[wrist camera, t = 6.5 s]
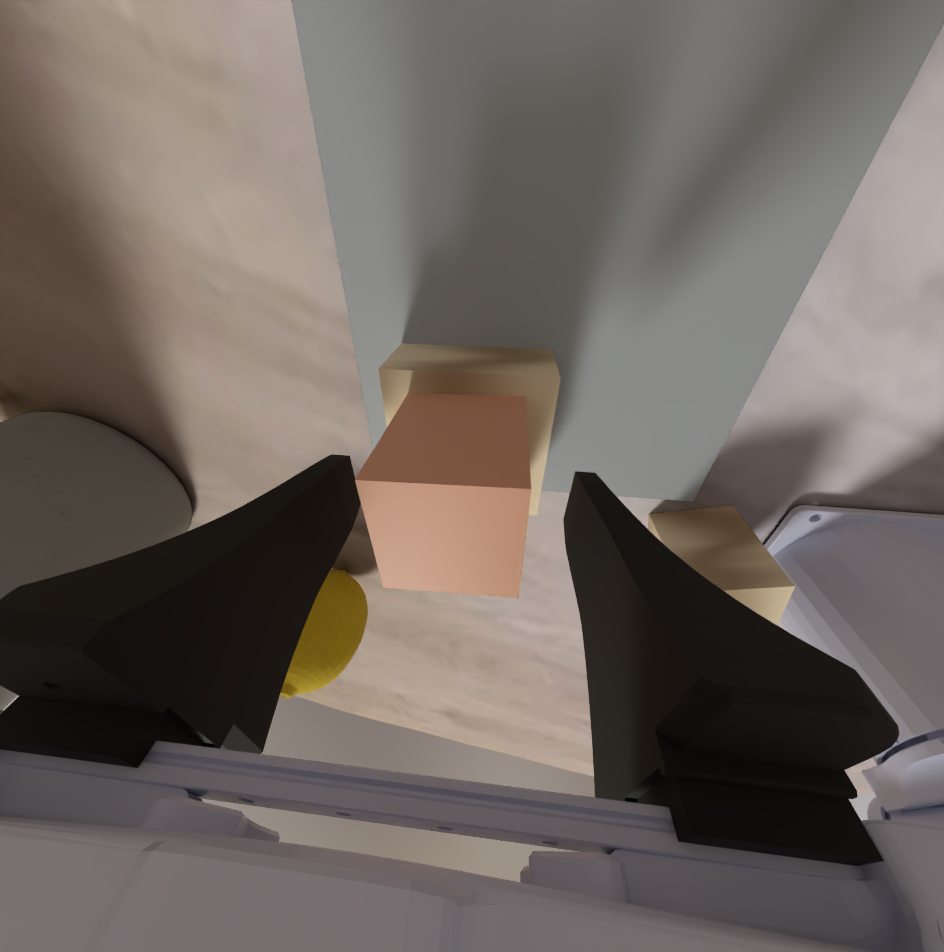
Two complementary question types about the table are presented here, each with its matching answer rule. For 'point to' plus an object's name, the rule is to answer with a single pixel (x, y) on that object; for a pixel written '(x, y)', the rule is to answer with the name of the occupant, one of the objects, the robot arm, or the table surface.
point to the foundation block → (480, 386)
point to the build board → (600, 194)
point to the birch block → (726, 556)
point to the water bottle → (78, 499)
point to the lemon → (328, 635)
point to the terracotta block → (450, 494)
